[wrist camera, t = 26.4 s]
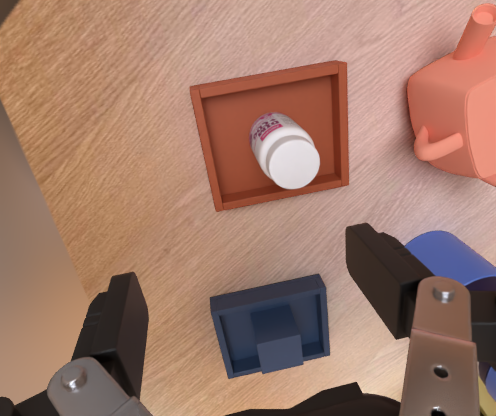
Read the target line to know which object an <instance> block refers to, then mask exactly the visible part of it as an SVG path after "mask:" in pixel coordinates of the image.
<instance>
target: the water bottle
mask: <svg viewBox="0 0 496 416" xmlns="http://www.w3.org/2000/svg"><path fill="white" fill-rule="evenodd" d="M404 248H407V249H408V250H409V251H410V252H411V254H413V255H414V256H415V257H416V258H417V259H418V260H419V261H421V262H422V263H423V264H424V265H425V266H426V267H427V268H428V269H429V270H430V271H431V272H432V273H433V274H434V275H435V276H441V277H447V278H451V279H453V280H456V281H458V282H460V283H461V284H463V285H464V286H465V287H466V288H467V289H468V290H470V291H496V267H495V266H493V265H492V264H491V263H489V262H488V261H487V260H486V259H484V258H483V257H482V256H480V255H479V254H478V253H476V252H475V251H474V250H472V249H471V248H470V247H469V246H467V245H466V244H465V243H463V242H462V241H461V240H459V239H458V238H457V237H455V236H454V235H453V234H451V233H449V232H445V231H432V232H427V233H424V234H422V235H420V236H418V237H416V238H414V239H413V240H412V241H410V242H409V243H408V244H407V245H406V246H405V247H404ZM477 364H478V376H479V377H480V379H481V380H482V382H483V383H484V385H485V386H486V389H487V392H488V393H489V394H490V395H491V397H492V398H493V399H494V400H495V402H496V371H495V370H494V369H493V368H492V367H491V366H490V364H489V363H488V362H477Z"/></svg>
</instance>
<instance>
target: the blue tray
mask: <svg viewBox="0 0 496 416" xmlns="http://www.w3.org/2000/svg"><path fill="white" fill-rule="evenodd" d="M284 305H290V308H291V311H292V314H293V316H294V319H295V322H296V325H297V327H298V330H299V333H300V338H301V346H302V355H303V362H304V361H308V360H312V359H317V358H321V357H324V356H329V355H330V345H329V328H328V312H327V295H326V286H325V284H324V283H323V281H322V279H321V277H320V275H319V274H316V275H311V276H307V277H302V278H298V279H293V280H288V281H284V282H279V283H275V284H270V285H265V286H261V287H256V288H251V289H247V290H242V291H238V292H233V293H228V294H224V295H219V296H215V297H210V308H211V315H212V319H213V322H214V326H215V330H216V334H217V338H218V341H219V345H220V349H221V353H222V356H223V360H224V364H225V368H226V371H227V375H228V379H231V378H234V377H239V376H243V375H248V374H252V373H256V372H261V371H262V370H261V365H260V360H259V356H258V351H257V346H256V341H255V336H254V331H253V326H252V321H251V316H250V313H253V312H257V311H262V310H266V309H271V308H275V307H280V306H284Z"/></svg>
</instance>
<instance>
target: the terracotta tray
mask: <svg viewBox="0 0 496 416" xmlns="http://www.w3.org/2000/svg"><path fill="white" fill-rule="evenodd" d="M190 95H191V99H192V104H193V108H194V113H195V118H196V122H197V127H198V131H199V136H200V140H201V145H202V150H203V154H204V159H205V163H206V168H207V173H208V177H209V182H210V186H211V191H212V196H213V200H214V205H215V209H216V212H218V211H223V210H228V209H233V208H238V207H243V206H248V205H253V204H258V203H263V202H268V201H273V200H278V199H283V198H288V197H293V196H298V195H303V194H308V193H313V192H318V191H323V190H328V189H332V188H337V187H341V186H347V185H349V156H348V101H347V63H346V62H341V61H337V60H335V61H329V62H323V63H318V64H312V65H307V66H301V67H295V68H290V69H284V70H279V71H273V72H267V73H262V74H256V75H250V76H245V77H239V78H234V79H228V80H222V81H217V82H211V83H206V84H200V85H194V86H190ZM271 112H278V113H282V114H285V115H287V116H288V117H290V118H291V119H292V120H293V121H294V122H296V123H297V124H298V125H299V126H300V127H301V128H302V129H303V130H304V131H306V132H307V133H308V134H309V136H310V137H311V139H312V140H313V143H314V146H315V148H316V150H317V152H318V154H319V158H320V166H319V170H318V172H317V174H316V176H315V177H314V179H313V180H312V181H311V182H310V183H309V184H307V185H305V186H303V187H301V188H298V189H285V188H282V187H280V186H279V185H277V184H276V183H275V182H274V181H273V180H272V179H271V178H269V177H268V176H267V175H266V174H265V173H264V172H263V170H262V169H261V167H260V165H259V163H258V161H257V159H256V157H255V155H254V153H253V151H252V149H251V147H250V143H249V133H250V129H251V127H252V125H253V124H254V122H255V121H256V120H257V119H258V118H259V117H261V116H262V115H264V114H267V113H271Z"/></svg>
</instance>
